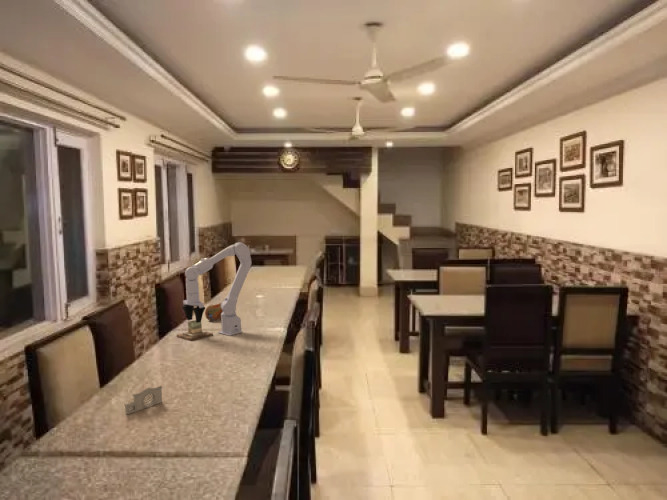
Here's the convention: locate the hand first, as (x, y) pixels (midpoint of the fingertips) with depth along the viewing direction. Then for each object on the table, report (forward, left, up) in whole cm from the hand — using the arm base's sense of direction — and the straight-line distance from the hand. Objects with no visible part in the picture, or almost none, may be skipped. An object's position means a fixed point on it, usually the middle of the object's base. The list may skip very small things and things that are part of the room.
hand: (194, 321), depth 234 cm
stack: (0, 0, -6) cm, 6 cm away
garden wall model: (-62, +57, -8) cm, 85 cm away
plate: (0, 0, -7) cm, 7 cm away
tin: (+22, -28, -8) cm, 36 cm away
